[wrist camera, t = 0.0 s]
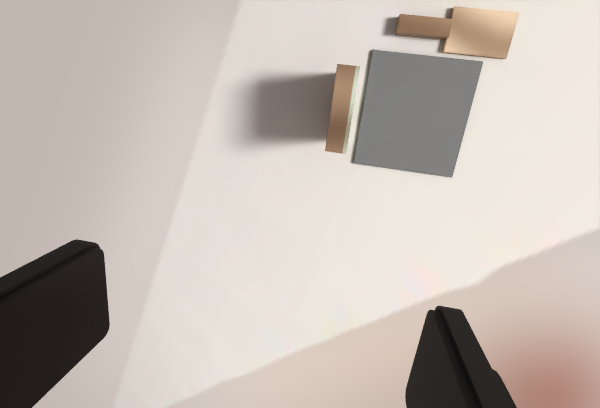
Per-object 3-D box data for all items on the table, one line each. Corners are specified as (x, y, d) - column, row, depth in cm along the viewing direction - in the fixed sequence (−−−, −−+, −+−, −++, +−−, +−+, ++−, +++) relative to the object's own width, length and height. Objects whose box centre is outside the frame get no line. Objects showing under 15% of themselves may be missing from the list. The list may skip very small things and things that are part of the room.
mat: (372, 50, 35) (372, 49, 35) (482, 61, 34) (483, 61, 34) (353, 162, 39) (353, 163, 39) (451, 176, 38) (452, 177, 37)
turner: (401, 3, 33) (403, -1, 32) (516, 14, 32) (522, 11, 31) (393, 47, 35) (394, 45, 34) (503, 58, 34) (508, 57, 33)
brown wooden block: (341, 72, 36) (337, 64, 27) (358, 74, 36) (359, 66, 27) (331, 137, 38) (325, 151, 29) (347, 139, 38) (345, 153, 29)
